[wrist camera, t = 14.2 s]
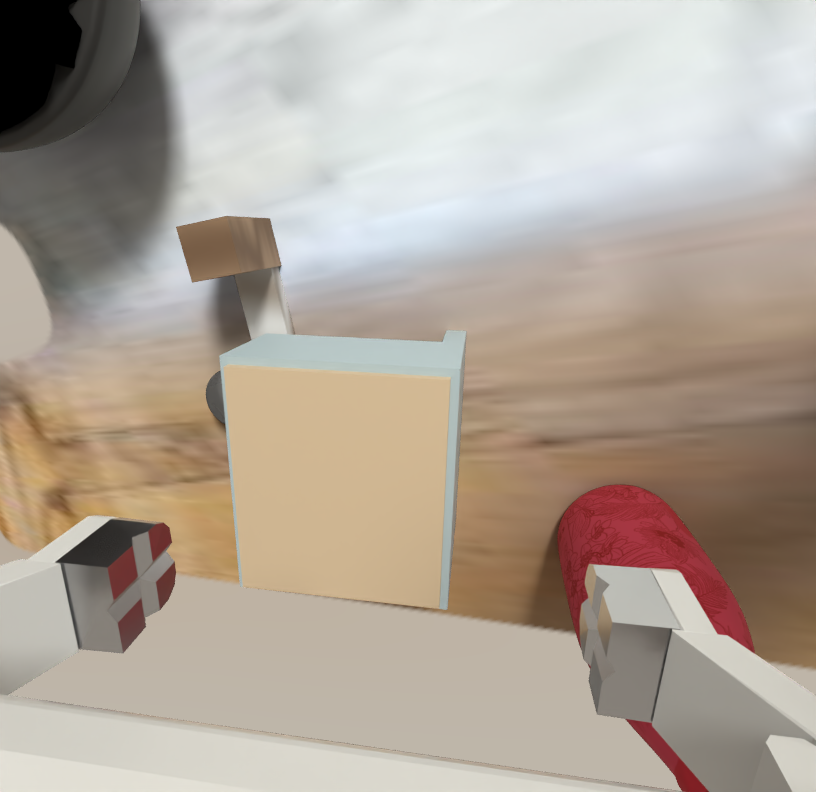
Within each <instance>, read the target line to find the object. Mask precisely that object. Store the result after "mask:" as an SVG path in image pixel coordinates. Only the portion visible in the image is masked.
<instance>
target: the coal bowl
mask: <svg viewBox="0 0 816 792" xmlns="http://www.w3.org/2000/svg"><path fill="white" fill-rule="evenodd" d="M139 24H140V0H0V152H12V151H19V150H26V149H31V148H35V147H39V146H42V145H46V144H49V143H52V142H54V141H57V140H59V139H62V138H64V137H66V136H68V135H70V134H72V133H74V132H75V131H77V130H79V129H80V128H82V127H84V126H85V125H86V124H88V123H89V122H90V121H92V120H93V119H94V118H95V117H96V116H97V115H98V114H99V113H100V112H102V111H103V109H104V108H105V107H106V106H107V105H108V104H109V102H110V101H111V100H112V99H113V98H114V96H115V95H116V93H117V92H118V90H119V89H120V87H121V85H122V83H123V81H124V79H125V77H126V76H127V73H128V71H129V68H130V66H131V63H132V60H133V56H134V53H135V49H136V44H137V39H138V33H139Z"/></svg>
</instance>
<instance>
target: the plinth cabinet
mask: <svg viewBox="0 0 816 792" xmlns="http://www.w3.org/2000/svg"><path fill="white" fill-rule="evenodd" d="M465 348H466V331H455V330H447V331H446V333H445V336H444V339H443V342H432V341H412V340H392V339H371V338H351V337H331V336H310V335H290V334H269V333H266V334H264V335H262V336H260V337H258V338H255V339H253V340H251V341H249V342H247V343H245V344H243V345H241V346H239V347H236V348H234V349H232V350H230V351H228V352H226V353H224V354H222V355H220V356H219V357H220V368H221V379H222V390H223V401H224V413H225V424H226V435H227V446H228V457H229V468H230V479H231V490H232V502H233V513H234V524H235V535H236V546H237V557H238V568H239V579H240V587H247V588H256V589H265V590H274V591H283V592H292V593H301V594H310V595H319V596H328V597H337V598H346V599H355V600H364V601H373V602H382V603H391V604H400V605H409V606H418V607H427V608H435V609H444V610H447V608H448V597H449V587H450V576H451V565H452V554H453V544H454V533H455V522H456V507H457V490H458V472H459V454H460V437H461V419H462V401H463V383H464V366H465Z"/></svg>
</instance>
